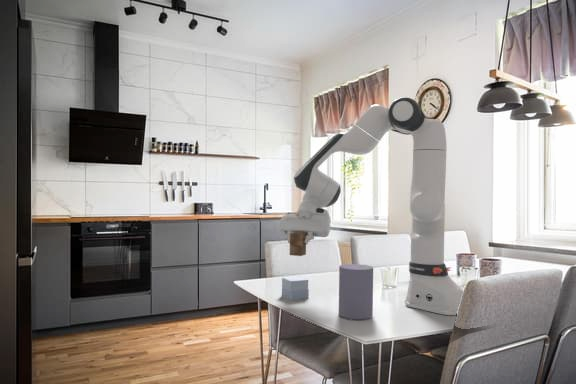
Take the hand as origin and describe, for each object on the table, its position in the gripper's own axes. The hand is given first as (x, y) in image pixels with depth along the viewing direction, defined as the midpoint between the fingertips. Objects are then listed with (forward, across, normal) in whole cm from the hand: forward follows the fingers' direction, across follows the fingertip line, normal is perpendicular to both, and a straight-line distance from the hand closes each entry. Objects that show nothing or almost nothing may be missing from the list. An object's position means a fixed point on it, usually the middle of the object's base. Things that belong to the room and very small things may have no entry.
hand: (297, 242), depth 154 cm
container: (+24, +26, +4) cm, 35 cm away
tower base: (+14, 0, +14) cm, 20 cm away
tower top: (+12, 0, +11) cm, 16 cm away
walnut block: (+3, 0, +4) cm, 4 cm away
